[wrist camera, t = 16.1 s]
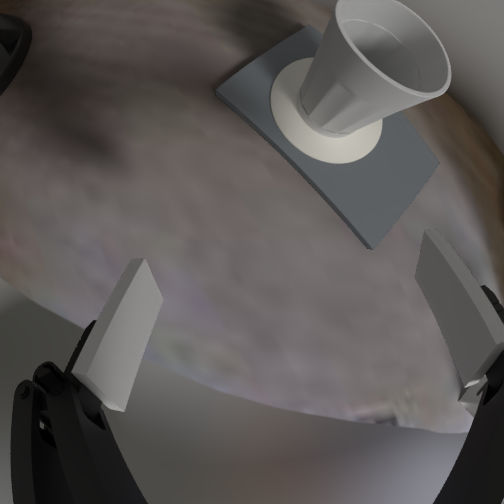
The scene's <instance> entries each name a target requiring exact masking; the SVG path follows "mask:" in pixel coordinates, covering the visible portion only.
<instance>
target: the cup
mask: <svg viewBox="0 0 504 504" xmlns="http://www.w3.org/2000/svg"><path fill="white" fill-rule="evenodd" d="M450 81H451V67H450V62H449V59H448V56H447V54H446V51H445V49H444V47H443V45H442V43H441V42H440V40H439V39H438V37H437V36H436V34H435V33H434V32H433V31H432V29H431V28H430V27H429V26H428V25H427V24H426V23H425V22H424V21H423V20H422V19H421V18H420V17H419V16H418V15H417V14H416V13H414V12H413V11H412V10H410V9H409V8H408V7H406V6H405V5H403V4H401V3H400V2H398V1H396V0H338V1H337V4H336V6H335V8H334V11H333V13H332V15H331V18H330V20H329V23H328V25H327V27H326V30H325V32H324V35H323V38H322V40H321V43H320V45H319V47H318V50H317V52H316V54H315V56H314V59H313V61H312V63H311V66H310V68H309V70H308V73H307V75H306V77H305V80H304V82H303V84H302V85H301V87H300V89H299V91H298V93H297V99H296V102H297V108H298V111H299V114H300V116H301V117H302V119H303V120H304V122H305V123H306V124H307V125H308V126H309V127H310V128H311V129H312V130H314V131H315V132H317V133H319V134H321V135H323V136H326V137H330V138H342V137H346V136H348V135H350V134H352V133H353V132H355V131H356V130H358V129H360V128H363V127H365V126H367V125H369V124H371V123H373V122H376V121H378V120H380V119H382V118H385V117H387V116H389V115H391V114H394V113H396V112H398V111H401V110H403V109H406V108H409V107H411V106H414V105H416V104H419V103H421V102H424V101H427V100H429V99H432V98H435V97H438V96H440V95H442V94H443V93H444V92H445V91H446V90H447V89H448V87H449V85H450Z"/></svg>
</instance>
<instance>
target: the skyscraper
mask: <svg viewBox="0 0 504 504" xmlns="http://www.w3.org/2000/svg"><path fill="white" fill-rule="evenodd" d="M487 380H488V379H487V377H485V376H484V377H483V378H482V379H481V380H480V382H479V383H477V384H474V385H471V386H470V387H469V388H468V389H467V391H466V392H465V394H464V395H463V396H462V397H461V399H460V400H459V401H458V402H461V403H462V404H463V405H464V406H465V407H466V408H467V409H466V410H467V411H468V412H469V413H470V414H471V415H472V416H473V417H475V414H476V411H477V408H478V405H479V402H480V399H481V396H482V392H483V391H482V392H481V393H480V394H479V396H477V395H476V394H477V392H478V391H479V390H480V388H481V387H482V386H483V385H484V384H485V383H486V381H487Z"/></svg>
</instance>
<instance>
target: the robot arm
mask: <svg viewBox="0 0 504 504" xmlns="http://www.w3.org/2000/svg"><path fill="white" fill-rule="evenodd" d="M31 37H32V32H31V28H30V27H29V26H28V25H27V24H26V23H25V22H24V21H23V20H22V19H20V18H18V17H14V16H11V15H7V14H3V13H0V95H1V94H2V92H3V91H4V90H5V89H6V87H7V86H8V85H9V83H10V82H11V80H12V79H13V77H14V76H15V74H16V72H17V71H18V69H19V67H20V66H21V64H22V62H23V60H24V58H25V56H26V54H27V51H28V49H29V46H30V42H31ZM415 279H416V281H417V282H418V284H419V286H420V288H421V290H422V292H423V294H424V296H425V298H426V300H427V302H428V304H429V306H430V308H431V310H432V312H433V314H434V316H435V318H436V320H437V323H438V325H439V327H440V329H441V331H442V334H443V336H444V338H445V340H446V343H447V345H448V347H449V350H450V352H451V355H452V357H453V360H454V362H455V365H456V367H457V370H458V372H459V375H460V378H461V381H462V383H463V386H464V388H466V387H469V386H471V385H474V384H477V383H479V382H480V380H481V379H482V378H483V377H484V375H485V374H486V377H487V379H488V380H487V381H486V383H485V384H484V385H483V386H482V387H481V388H480V390H479V391H478V392H477V394H476V395H477V396H479V394H480V393H481V392H482V391H483V392H482V396H481V399H480V402H479V405H478V408H477V411H476V414H475V417H474V420H473V422H472V425H471V428H470V430H469V433H468V435H467V438H466V440H465V443H464V445H463V447H462V449H461V452H460V454H459V456H458V458H457V460H456V462H455V465H454V467H453V469H452V471H451V472H450V474H449V477H448V478H447V480H446V482H445V484H444V486H443V487H442V490H441V491H440V493H439V494H438V496H437V498H436V499H435V501H434V503H433V504H501V503H502V500H503V498H504V308H503V307H502V305H501V304H499V300H498V299H497V297H496V296H495V294H494V293H493V292H492V291H491V290H490V289H489V288H487V287H486V286H485V285H483V286H479V284H478V283H477V281H476V280H475V278H474V277H473V275H472V274H471V272H470V271H469V270H468V268H467V267H466V265H465V264H464V263H463V261H462V260H461V259H460V257H459V256H458V255H457V253H456V252H455V251H454V249H453V248H452V247H451V246H450V244H449V243H448V242H447V241H446V239H445V238H444V237H443V236H442V234H441V233H440V232H439V231H438V229H436V230H424V235H423V240H422V245H421V250H420V255H419V260H418V264H417V269H416V273H415ZM163 300H164V299H163V297H162V295H161V293H160V291H159V289H158V286H157V284H156V282H155V280H154V278H153V275H152V273H151V271H150V269H149V266H148V264H147V262H146V259H145V258H139V259H132V260H131V261H130V263H129V265H128V266H127V268H126V270H125V271H124V273H123V275H122V276H121V278H120V280H119V281H118V283H117V285H116V287H115V288H114V290H113V292H112V294H111V295H110V297H109V299H108V301H107V303H106V304H105V306H104V308H103V310H102V312H101V313H100V315H99V317H98V319H97V320H93V321H92V322H91V323H90V325H89V326H88V327H87V328H86V329H85V331H84V333H83V335H82V337H81V340H79V342H78V344H77V347H76V348H75V351H74V352H73V354H72V357H71V359H70V361H69V363H68V365H67V367H66V369H65V371H64V373H63V372H62V371H61V370H60V369H59V368H58V367H57V366H56V365H55V364H54V363H53V362H45V363H42V364H41V365H40V366H38V368H37V369H36V370H35V372H34V375H33V382H32V381H30V380H24V381H22V382H21V383H20V384H19V385H18V386H17V388H16V390H15V395H14V402H13V413H12V425H11V481H12V493H13V502H14V504H148V503H147V501H146V500H145V498H144V496H143V495H142V493H141V491H140V489H139V488H138V486H137V484H136V482H135V480H134V478H133V476H132V475H131V473H130V471H129V469H128V467H127V465H126V463H125V461H124V458H123V457H122V454H121V452H120V450H119V448H118V445H117V443H116V441H115V439H114V436H113V434H112V431H111V429H110V427H109V424H108V422H107V419H106V417H105V414H104V412H103V410H102V409H101V408H100V407H101V404H102V402H103V403H104V404H105V405H106V406H107V407H108V408H109V409H113V410H118V411H123V412H124V411H125V408H126V405H127V401H128V398H129V395H130V392H131V389H132V386H133V383H134V380H135V377H136V374H137V371H138V368H139V365H140V362H141V359H142V357H143V354H144V351H145V348H146V345H147V343H148V340H149V337H150V334H151V332H152V329H153V326H154V324H155V321H156V318H157V316H158V313H159V310H160V308H161V305H162V303H163ZM34 383H35V384H34ZM36 385H37V386H36ZM40 422H42V423H43V424H44V429H42V428H40Z"/></svg>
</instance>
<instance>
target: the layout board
mask: <svg viewBox="0 0 504 504" xmlns="http://www.w3.org/2000/svg"><path fill="white" fill-rule="evenodd" d="M322 38H323V35H322V34H321V33H320V32H319V31H317V30H316V29H315V28H314V27H312V26H311V25H308V26H306V27H304V28H303V29H301V30H299V31H298V32H296V33H294V34H293V35H291V36H289V37H288V38H286V39H285V40H283V41H282V42H280V43H278V44H277V45H275V46H274V47H272V48H271V49H269V50H268V51H266V52H265V53H263V54H262V55H261V56H259V57H258V58H256V59H255V60H253V61H252V62H251V63H249V64H248V65H247V66H245V67H244V68H242V69H241V70H240V71H238V72H237V73H236V74H235V75H233V76H232V77H231V78H229V79H228V80H227V81H225V82H224V83H223V84H222V85H220V86H219V87H218V88H217V89H215V93H216V96H217V97H218V98H219V99H221V100H222V101H223V102H224V103H225V104H226V105H228V106H229V107H230V108H231V109H232V110H233V111H234V112H236V113H237V114H238V115H239V116H240V117H241V118H242V119H243V120H245V121H246V122H247V123H248V124H249V125H250V126H251V127H252V128H253V129H254V130H255V131H257V132H258V133H259V134H260V135H261V136H262V137H263V138H264V139H265V140H266V141H267V142H268V143H269V144H270V145H271V146H272V147H273V148H274V149H275V150H277V151H278V152H279V153H280V154H281V155H282V156H283V157H284V158H285V159H286V160H287V161H288V162H289V163H290V164H291V165H292V166H293V167H294V168H295V169H296V170H297V171H298V172H299V173H300V174H301V175H302V177H303V178H304V179H305V180H306V181H307V182H308V183H309V184H310V185H311V186H312V187H313V188H314V189H315V190H316V191H317V192H318V193H319V194H320V195H321V197H322V198H323V199H324V200H325V201H326V202H327V203H328V204H329V205H330V206H331V207H332V209H333V210H334V211H335V212H336V213H337V214H338V215H339V216H340V217H341V219H342V220H343V221H344V222H345V223H346V224H347V225H348V227H349V228H350V229H351V230H352V231H353V232H354V234H355V235H356V236H357V237H358V238H359V239H360V241H361V242H362V243H363V244H364V245H365V247H366V248H367V249H372V250H374V248H375V247H376V246H377V245H378V244H379V242H380V241H381V240H382V239H383V238H384V236H385V235H386V234H387V233H388V231H389V230H390V229H391V228H392V226H393V225H394V224H395V223H396V221H397V220H398V219H399V218H400V216H401V215H402V214H403V213H404V211H405V210H406V209H407V207H408V206H409V205H410V203H411V202H412V201H413V200H414V198H415V197H416V196H417V194H418V193H419V192H420V190H421V189H422V187H423V186H424V185H425V183H426V182H427V181H428V179H429V178H430V176H431V175H432V174H433V172H434V171H435V169H436V168H437V166H438V165H439V164H440V162H439V161H438V160H437V158H436V157H435V155H434V154H433V152H432V151H431V149H430V148H429V147H428V145H427V144H426V143H425V141H424V140H423V139H422V137H421V136H420V135H419V133H418V132H417V131H416V129H415V128H414V127H413V126H412V124H411V123H410V122H409V121H408V119H407V118H406V117H405V116H404V114H403V113H402V112H401V111H398V112H396V113H394V114H391V115H389V116H387V117H385V118H382V119H380V120H378V121H376V122H373V123H371V124H369V125H367V126H365V127H363V128H360V129H358V130H356V131H355V132H353V133H352V134H350V135H348V136H346V137H342V138H330V137H326V136H323V135H321V134H319V133H317V132H315V131H314V130H312V129H311V128H310V127H309V126H308V125H307V124H306V123H305V122H304V120H303V119H302V117H301V116H300V114H299V111H298V108H297V102H296V99H297V93H298V91H299V89H300V87H301V85H302V84H303V82H304V80H305V77H306V75H307V73H308V70H309V68H310V66H311V63H312V61H313V59H314V56H315V54H316V52H317V50H318V47H319V45H320V43H321V40H322Z"/></svg>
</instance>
